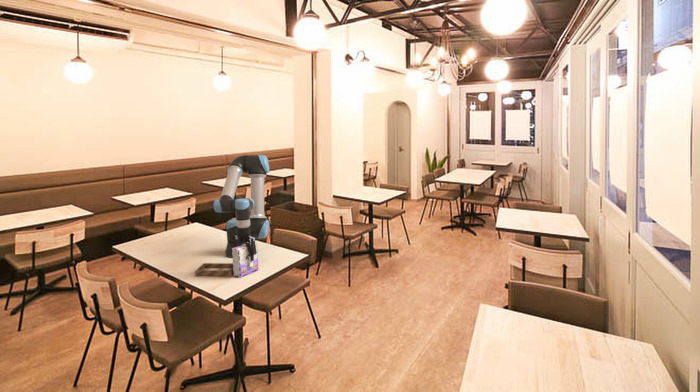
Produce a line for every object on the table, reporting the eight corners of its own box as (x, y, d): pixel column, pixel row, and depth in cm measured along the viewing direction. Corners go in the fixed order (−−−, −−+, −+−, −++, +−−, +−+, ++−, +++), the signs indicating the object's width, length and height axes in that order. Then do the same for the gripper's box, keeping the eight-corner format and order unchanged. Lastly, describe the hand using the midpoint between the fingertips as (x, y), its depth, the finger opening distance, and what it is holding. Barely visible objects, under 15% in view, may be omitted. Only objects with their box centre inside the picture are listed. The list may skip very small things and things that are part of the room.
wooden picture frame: (195, 276, 221) (195, 270, 221) (204, 268, 233) (203, 263, 232) (231, 276, 221) (230, 271, 220) (237, 268, 233) (237, 263, 232)
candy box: (251, 268, 233) (250, 241, 230) (258, 270, 230) (257, 243, 227) (233, 275, 222) (231, 247, 219) (240, 278, 219) (238, 249, 216)
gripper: (224, 226, 221) (227, 265, 225) (254, 229, 214) (256, 270, 218) (233, 223, 228) (235, 261, 232) (262, 226, 221) (264, 265, 225)
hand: (245, 265), depth 225 cm, fingers closed on candy box, 7 cm apart
